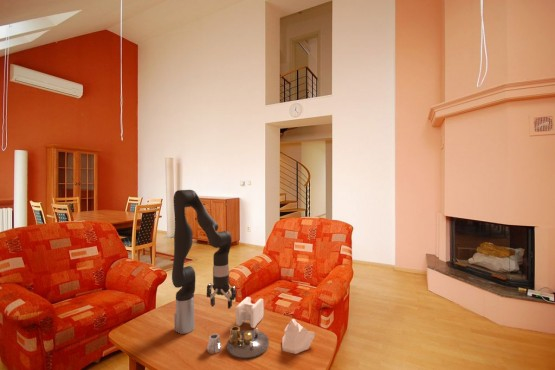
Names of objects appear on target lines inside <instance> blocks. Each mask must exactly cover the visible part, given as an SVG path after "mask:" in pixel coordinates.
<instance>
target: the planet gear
mask: <svg viewBox="0 0 555 370" xmlns="http://www.w3.org/2000/svg"><path fill="white" fill-rule="evenodd" d="M220 336H221V335H219V333H212V334H210V335H209V336H208V344H207V346H206V351H207V352H208V354H218V353H219V352H221V350H222V348H223V346H222V343H221V342H220V338H221V337H220Z"/></svg>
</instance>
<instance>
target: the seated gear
mask: <svg viewBox="0 0 555 370" xmlns="http://www.w3.org/2000/svg"><path fill="white" fill-rule="evenodd" d="M229 331H230V333H229V334H230V335H229V336H228V340H229V344H231V345H233V344H234V345H238V344H240V343H241V342H242V335H240V332H241V326H238V325H234V326H231V327H230V328H229Z"/></svg>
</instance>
